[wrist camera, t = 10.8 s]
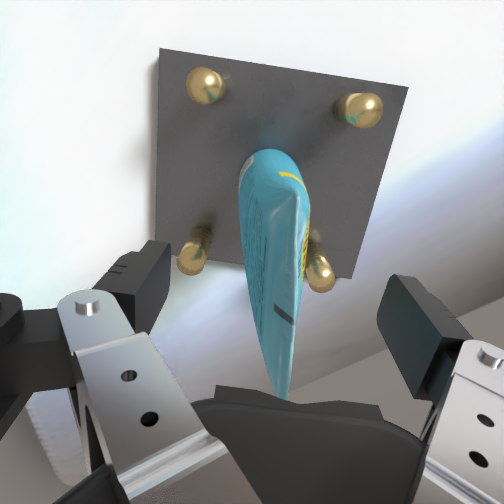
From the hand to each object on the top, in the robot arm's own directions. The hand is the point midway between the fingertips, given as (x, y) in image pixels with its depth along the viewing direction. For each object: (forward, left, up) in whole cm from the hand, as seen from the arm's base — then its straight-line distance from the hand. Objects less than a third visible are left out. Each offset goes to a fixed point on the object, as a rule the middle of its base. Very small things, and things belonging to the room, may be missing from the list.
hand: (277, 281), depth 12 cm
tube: (0, 0, -17) cm, 17 cm away
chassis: (0, 0, -18) cm, 18 cm away
